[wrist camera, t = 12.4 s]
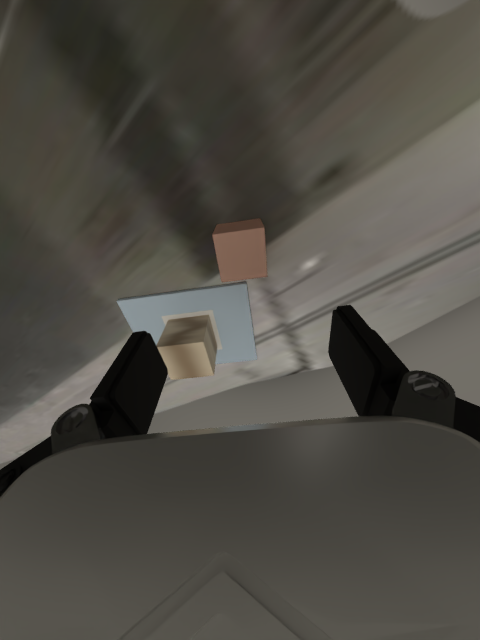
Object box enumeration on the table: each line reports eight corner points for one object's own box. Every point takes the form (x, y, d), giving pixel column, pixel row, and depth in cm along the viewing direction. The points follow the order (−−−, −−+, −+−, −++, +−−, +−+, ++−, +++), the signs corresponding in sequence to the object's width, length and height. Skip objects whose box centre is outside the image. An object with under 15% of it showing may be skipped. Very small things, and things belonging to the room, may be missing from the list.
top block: (260, 218, 24) (264, 227, 20) (263, 260, 27) (267, 276, 23) (216, 224, 25) (212, 234, 21) (224, 265, 28) (221, 282, 24)
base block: (208, 314, 31) (203, 341, 26) (217, 345, 34) (213, 375, 29) (168, 319, 31) (155, 347, 26) (180, 350, 35) (171, 379, 30)
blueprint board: (246, 281, 29) (246, 284, 28) (256, 357, 37) (257, 360, 36) (118, 299, 30) (116, 301, 30) (155, 368, 38) (153, 371, 37)
